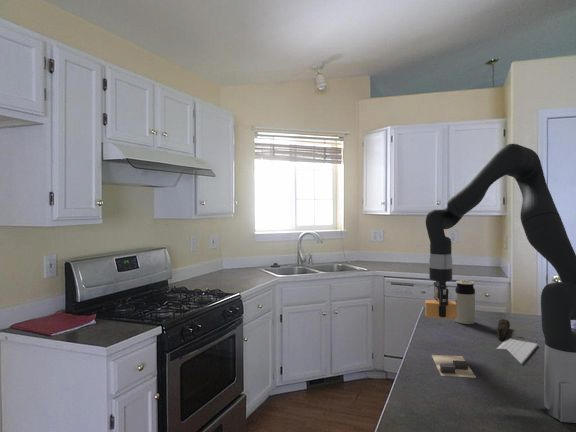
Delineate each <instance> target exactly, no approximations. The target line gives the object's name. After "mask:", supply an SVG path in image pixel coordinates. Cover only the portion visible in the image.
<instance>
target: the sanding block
mask: <svg viewBox="0 0 576 432" xmlns="http://www.w3.org/2000/svg"><path fill="white" fill-rule="evenodd" d="M424 302H425V304H424V305H425V307H424V314H425V317H426V318H431V319H432V318H433V319H434V318H435V319H447V320H448V319H450V320H455V319H457V304H456V302H455V300H448V306H446V317H440V316H439V305H438V304H439V302H438V300H435V299H425V300H424ZM442 302H444V300H443V301H442Z"/></svg>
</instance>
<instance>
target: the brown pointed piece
mask: <svg viewBox="0 0 576 432" xmlns="http://www.w3.org/2000/svg"><path fill="white" fill-rule="evenodd" d="M510 327H511V324H510V321H509V320H507V319H499V320H498V324H497V327H496V328H497V329H496V335H497V336H496V338H497V339H498V340H499V341H502V340H504V338H505V337H506V336H505V335H506V334H507V330H508V329H510ZM503 337H504V338H503Z"/></svg>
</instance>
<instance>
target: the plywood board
mask: <svg viewBox="0 0 576 432" xmlns="http://www.w3.org/2000/svg"><path fill="white" fill-rule="evenodd" d="M431 358H432V359H433V362H434V363H435V366H436V368H437V370H438V372H439V375H440V376H441V377H442V376H443V377H456V378H457V377H460V378H473V379H474V378H477V376H476V375H475V373H474V372H473V370H472V369H471V367H470V366H469V365H468V370H461V369H455V374H453V373H441V371H440V364H453V360H456V361H466V360H465V358H464V357H463V356H461V355H444V354H443V355H441V354H439V355H438V354H431Z"/></svg>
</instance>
